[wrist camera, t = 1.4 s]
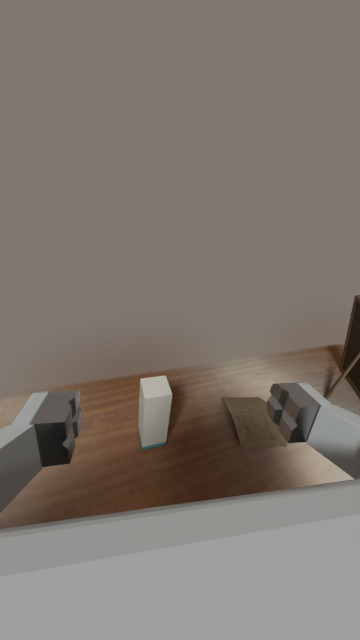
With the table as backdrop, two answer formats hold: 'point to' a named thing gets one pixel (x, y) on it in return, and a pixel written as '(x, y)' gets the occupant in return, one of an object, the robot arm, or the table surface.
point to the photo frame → (351, 352)
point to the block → (154, 411)
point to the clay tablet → (253, 423)
